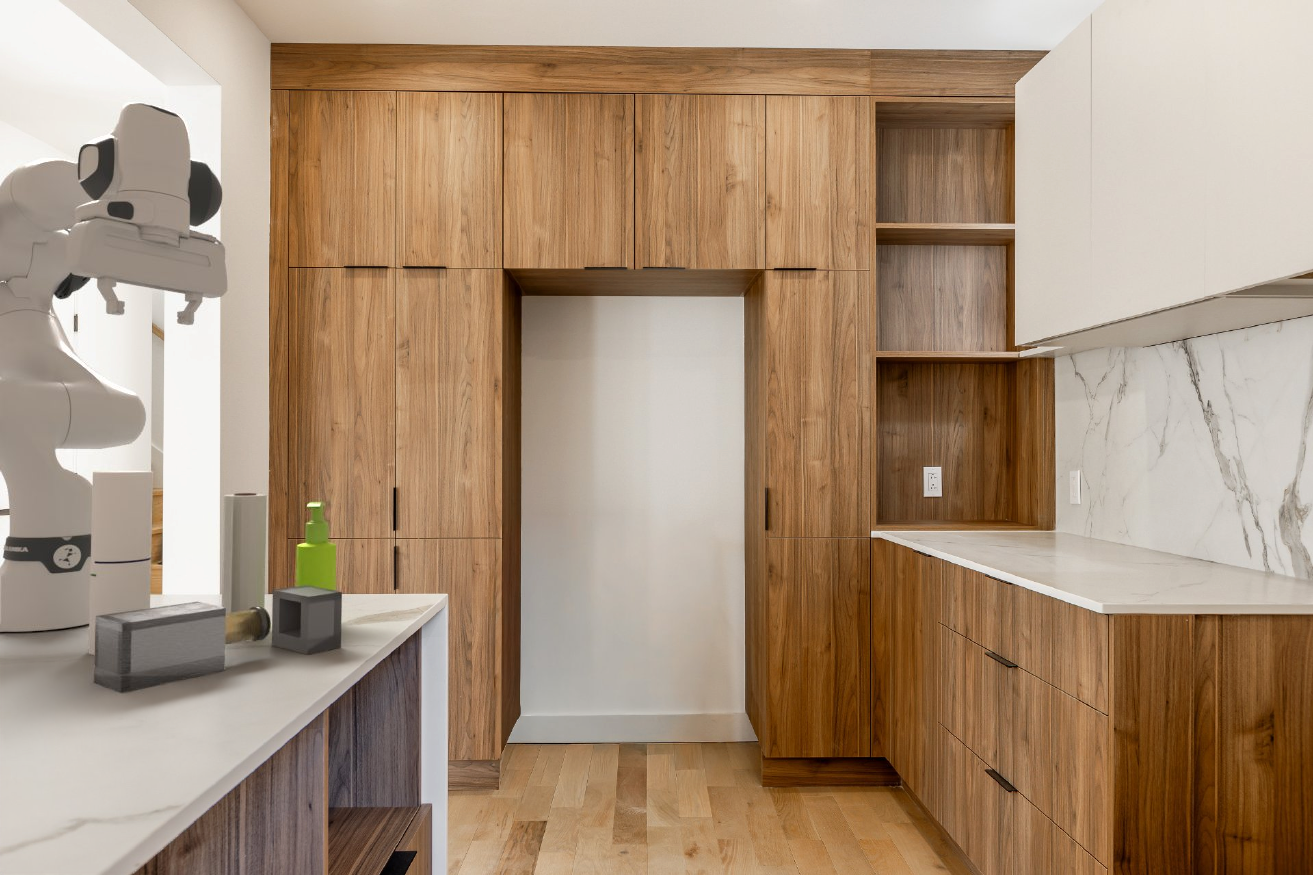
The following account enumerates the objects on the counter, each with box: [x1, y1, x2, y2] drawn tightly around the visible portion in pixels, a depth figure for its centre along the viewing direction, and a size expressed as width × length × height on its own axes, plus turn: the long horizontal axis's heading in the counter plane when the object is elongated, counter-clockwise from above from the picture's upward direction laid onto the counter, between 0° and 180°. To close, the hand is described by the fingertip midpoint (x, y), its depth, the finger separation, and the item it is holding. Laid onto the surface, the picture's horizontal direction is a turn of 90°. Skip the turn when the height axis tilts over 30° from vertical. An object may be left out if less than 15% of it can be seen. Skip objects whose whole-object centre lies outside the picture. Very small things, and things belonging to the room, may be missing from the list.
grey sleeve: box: [93, 601, 226, 694], centre depth 101 cm, size 12×7×8 cm, turn 145°
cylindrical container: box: [88, 470, 154, 656], centre depth 115 cm, size 7×7×25 cm
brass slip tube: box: [225, 606, 272, 646], centre depth 106 cm, size 16×5×5 cm, turn 145°
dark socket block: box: [271, 585, 343, 655], centre depth 118 cm, size 5×9×8 cm, turn 55°
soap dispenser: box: [295, 501, 337, 591], centre depth 131 cm, size 6×7×20 cm
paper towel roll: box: [221, 492, 267, 614], centre depth 127 cm, size 7×6×21 cm
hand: (151, 319), depth 114 cm, fingers open, 8 cm apart
